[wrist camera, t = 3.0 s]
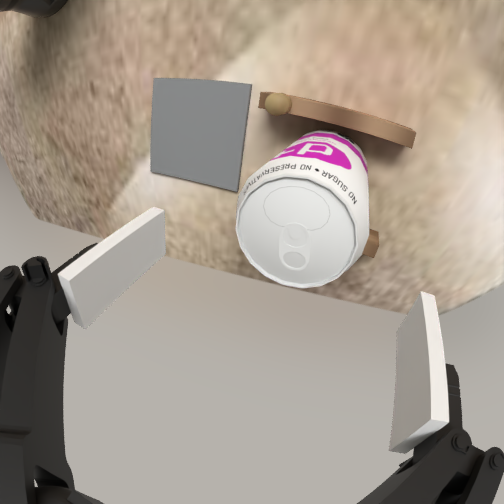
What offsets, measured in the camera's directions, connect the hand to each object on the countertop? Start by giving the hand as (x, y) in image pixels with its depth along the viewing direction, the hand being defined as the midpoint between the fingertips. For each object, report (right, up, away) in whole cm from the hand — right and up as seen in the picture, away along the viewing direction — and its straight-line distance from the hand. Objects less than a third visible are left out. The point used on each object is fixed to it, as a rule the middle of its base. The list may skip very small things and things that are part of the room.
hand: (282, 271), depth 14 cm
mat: (-8, +14, +17) cm, 24 cm away
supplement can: (+6, +9, +15) cm, 18 cm away
